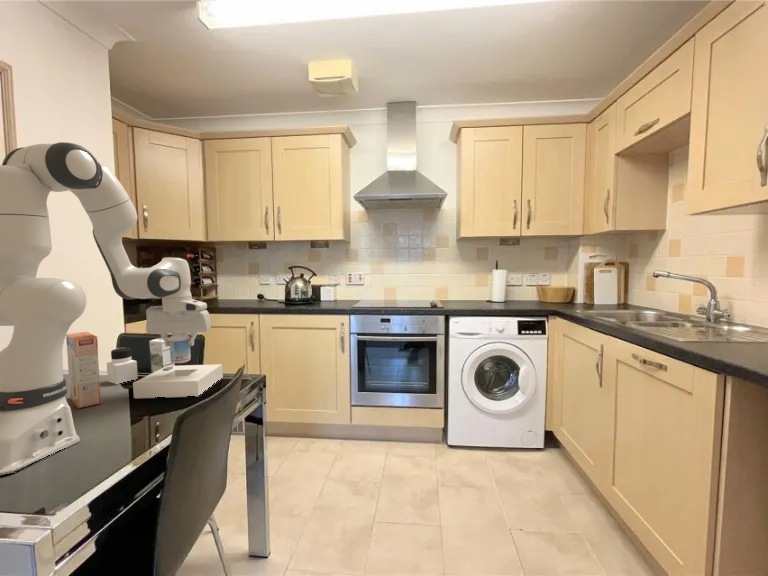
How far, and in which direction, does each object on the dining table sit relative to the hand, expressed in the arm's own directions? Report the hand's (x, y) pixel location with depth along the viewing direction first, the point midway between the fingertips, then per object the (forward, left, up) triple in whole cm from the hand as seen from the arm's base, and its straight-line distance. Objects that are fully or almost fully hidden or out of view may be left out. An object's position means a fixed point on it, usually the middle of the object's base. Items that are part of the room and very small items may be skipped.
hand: (179, 345), depth 128 cm
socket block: (0, 0, -14) cm, 14 cm away
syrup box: (+13, +13, -15) cm, 23 cm away
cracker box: (-11, +24, -15) cm, 30 cm away
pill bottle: (0, 0, -6) cm, 6 cm away
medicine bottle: (+10, +26, -15) cm, 31 cm away
